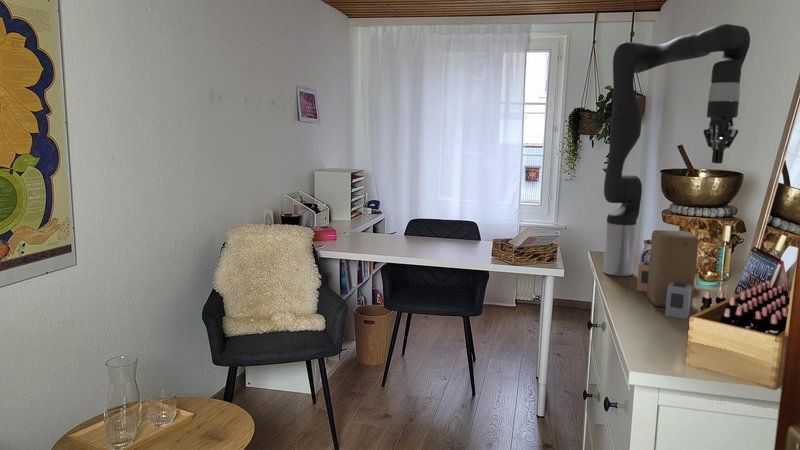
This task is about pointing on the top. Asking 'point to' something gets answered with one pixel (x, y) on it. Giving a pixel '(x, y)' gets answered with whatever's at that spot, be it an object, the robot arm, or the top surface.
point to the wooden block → (671, 263)
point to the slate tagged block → (678, 300)
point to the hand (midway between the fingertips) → (717, 163)
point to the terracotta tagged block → (643, 276)
